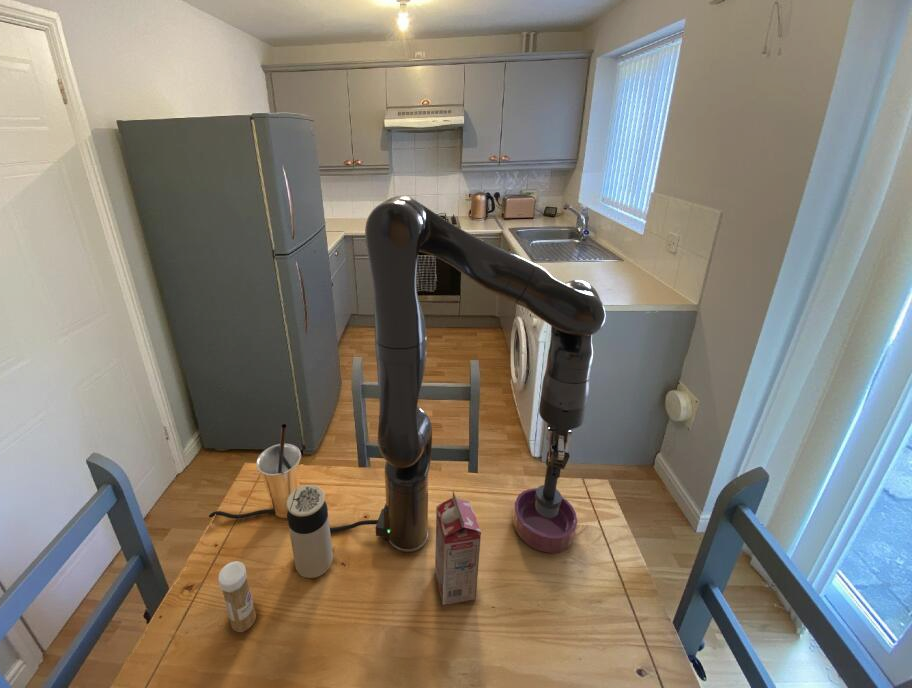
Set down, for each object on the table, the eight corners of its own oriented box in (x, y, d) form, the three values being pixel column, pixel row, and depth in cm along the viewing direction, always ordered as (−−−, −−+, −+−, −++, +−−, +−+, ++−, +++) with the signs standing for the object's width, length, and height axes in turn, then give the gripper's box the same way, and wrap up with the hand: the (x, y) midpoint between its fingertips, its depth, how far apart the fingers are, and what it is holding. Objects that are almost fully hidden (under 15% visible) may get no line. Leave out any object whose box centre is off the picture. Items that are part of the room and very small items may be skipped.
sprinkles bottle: (255, 629, 78) (243, 581, 73) (229, 636, 77) (215, 588, 72) (257, 604, 82) (246, 557, 77) (232, 610, 81) (220, 563, 76)
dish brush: (534, 515, 82) (542, 457, 76) (533, 496, 86) (541, 439, 80) (560, 521, 80) (570, 461, 75) (558, 501, 85) (568, 443, 79)
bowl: (512, 547, 92) (514, 531, 90) (513, 498, 104) (514, 483, 102) (577, 560, 89) (581, 544, 87) (570, 509, 101) (573, 493, 99)
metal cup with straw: (301, 531, 97) (284, 426, 85) (256, 523, 99) (234, 420, 87) (318, 494, 107) (306, 395, 95) (277, 487, 109) (260, 390, 97)
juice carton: (442, 604, 81) (445, 523, 73) (435, 571, 87) (436, 493, 79) (475, 599, 82) (482, 518, 74) (465, 566, 88) (470, 488, 80)
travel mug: (337, 546, 93) (330, 485, 86) (326, 581, 86) (318, 518, 79) (303, 541, 94) (294, 481, 87) (289, 576, 87) (278, 513, 80)
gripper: (540, 371, 80) (531, 443, 87) (543, 415, 68) (532, 495, 74) (582, 376, 78) (569, 449, 85) (593, 423, 66) (577, 504, 72)
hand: (552, 470), depth 79 cm, fingers closed on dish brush
